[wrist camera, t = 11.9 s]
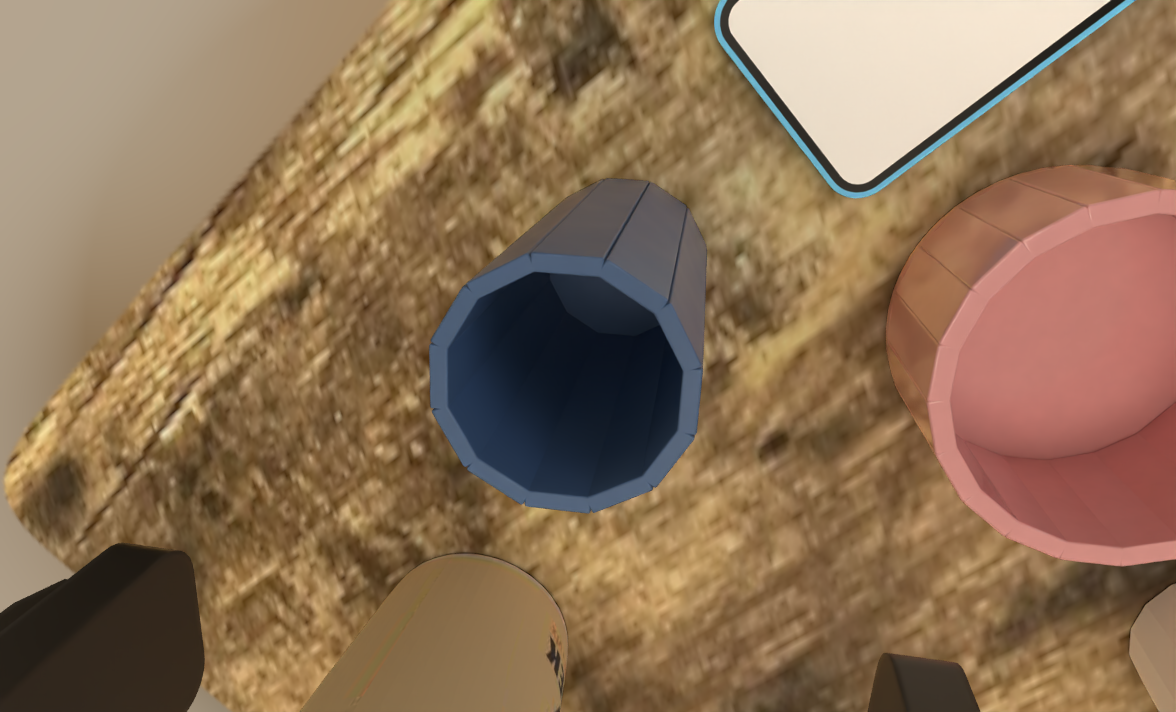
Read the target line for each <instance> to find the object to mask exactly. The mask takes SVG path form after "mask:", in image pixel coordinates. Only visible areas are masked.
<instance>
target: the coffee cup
mask: <svg viewBox="0 0 1176 712" xmlns="http://www.w3.org/2000/svg"><path fill="white" fill-rule="evenodd" d="M567 657H568V636H567V631H566V626H565V622H564V620H563V617H562V614H561V612H560V610H559V608H558V606H557V605H556V603H555V601H554V600H553V598H552V597H551V595H550V594H549V593H548V592H547V591H546V590H545V588H544V587H543V586H542V585H541V584H540V583H539V582H537V581H536V580H535V579H534V578H533V577H531V576H530V575H529V574H527V573H525V572H524V571H522V570H521V569H519V568H517V567H516V566H514V565H511V564H509V563H507V562H505V561H502V560H499V559H496V558H492V557H489V556H484V555H479V554H450V555H446V556H441V557H437V558H434V559H431V560H429V561H427V562H424V563H422V564H421V565H419V566H417V567H416V568H415V569H413V570H412V571H411V572H409V573H408V574H407V575H406V576H405V577H404V578H403V579H402V580H401V581H400V582H399V583H398V584H397V586H396V587H395V588H394V589H393V590H392V592H391V593H390V594H389V595H388V597H387V598H386V599H385V600H384V602H383V603H382V604H381V606H380V607H379V608H378V609H377V611H376V612H375V613H374V615H373V616H372V617H371V619H370V620H369V621H368V622H367V624H366V625H365V626H364V628H363V629H362V630H361V632H360V633H359V634H358V635H357V637H356V638H355V639H354V641H353V642H352V643H351V645H350V646H349V647H348V649H347V650H346V651H345V652H344V654H343V655H342V656H341V658H340V659H339V660H338V662H337V663H336V664H335V665H334V667H333V668H332V669H331V671H330V672H329V673H328V675H327V676H326V677H325V679H324V680H323V681H322V683H321V684H320V685H319V687H318V688H317V689H316V691H315V692H314V693H313V695H312V696H311V697H310V699H309V700H308V701H307V703H306V704H305V705H304V706H303V708H302V709H301V710H300V712H560V709H561V702H562V695H563V688H564V681H565V674H566V665H567Z"/></svg>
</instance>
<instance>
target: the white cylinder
mask: <svg viewBox="0 0 1176 712" xmlns="http://www.w3.org/2000/svg"><path fill="white" fill-rule="evenodd" d="M1129 656H1130V658H1131V660H1132V662H1133V664H1134V666H1135V668H1136V670H1137V672H1138V674H1139V676H1140V678H1141V680H1142V682H1143V684H1144V686H1145V687H1146V689H1147V691H1148V693H1149V695H1150V697H1151V698H1152V700H1153V702H1154V704H1155V706H1156V707H1157V709H1158V711H1159V712H1176V584H1173V585H1171V586H1169V587H1168V588H1167V589H1165V590H1164V591H1163V592H1161V593H1160V594H1159V595H1157V596H1156V597H1155V598H1154V599H1152V600H1151V601H1150V602H1148V603H1147V604H1146V605H1145V606H1144V608H1143V610H1142V611H1141V613H1140V615H1139V616H1138V618H1137V620H1136V621H1135V623H1134V625H1133V626H1132V628H1131V633H1130V647H1129Z"/></svg>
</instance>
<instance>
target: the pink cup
mask: <svg viewBox="0 0 1176 712" xmlns="http://www.w3.org/2000/svg"><path fill="white" fill-rule="evenodd" d="M886 351H887V356H888V362H889V367H890V371H891V374H892V376H893V380H894V384H895V387H896V389H897V391H898V392H899V394H900V396H901V398H902V399H903V401H904V403H905V404H906V406H907V408H908V410H909V411H910V413H911V415H912V417H913V418H914V420H915V422H916V423H917V425H918V427H919V429H920V430H921V432H922V434H923V436H924V437H925V439H926V441H927V442H928V444H929V446H930V448H931V449H932V451H933V453H934V455H935V456H936V458H937V460H938V461H939V463H940V465H941V467H942V468H943V470H944V472H945V474H946V475H947V477H948V479H949V480H950V482H951V484H952V486H953V487H954V489H955V491H956V493H957V494H958V496H959V498H960V499H961V500H962V501H963V503H964V504H965V505H967V506H968V507H969V508H970V509H971V510H973V511H974V512H975V513H976V514H977V515H979V516H980V517H981V518H982V519H983V520H985V521H986V522H987V523H988V524H989V525H990V526H992V527H993V528H994V529H995V530H996V531H998V532H999V533H1000V534H1001V535H1003V536H1005V537H1006V538H1008V539H1011V540H1013V541H1016V542H1018V543H1020V544H1023V545H1025V546H1028V547H1030V548H1033V549H1035V550H1038V551H1040V552H1042V553H1045V554H1047V555H1050V556H1052V557H1055V558H1059V559H1061V560H1069V561H1078V562H1087V563H1095V564H1104V565H1113V566H1129V565H1136V564H1143V563H1151V562H1158V561H1165V560H1173V559H1176V180H1172V179H1168V178H1164V177H1160V176H1155V175H1151V174H1147V173H1142V172H1138V171H1134V170H1130V169H1125V168H1112V167H1103V166H1096V165H1061V166H1053V167H1045V168H1040V169H1036V170H1032V171H1028V172H1024V173H1020V174H1017V175H1014V176H1012V177H1009V178H1006V179H1004V180H1001V181H998V182H996V183H994V184H992V185H990V186H988V187H986V188H984V189H982V190H980V191H978V192H976V193H975V194H973V195H972V196H970V197H969V198H967V199H966V200H964V201H963V202H961V203H960V204H958V205H957V206H955V207H954V208H953V209H952V210H951V211H950V212H948V213H947V214H946V215H945V216H944V217H942V218H941V219H940V220H939V221H938V222H937V223H936V224H935V225H934V226H933V227H932V228H931V229H930V231H929V232H928V233H927V234H926V235H925V236H924V237H923V238H922V240H921V241H920V242H919V244H918V245H917V247H916V248H915V249H914V251H913V252H912V253H911V255H910V256H909V258H908V260H907V262H906V264H905V266H904V267H903V269H902V271H901V273H900V275H899V278H898V280H897V283H896V285H895V288H894V290H893V293H892V297H891V301H890V305H889V309H888V314H887V324H886Z"/></svg>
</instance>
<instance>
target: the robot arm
mask: <svg viewBox="0 0 1176 712" xmlns="http://www.w3.org/2000/svg"><path fill="white" fill-rule="evenodd" d="M204 661H205V658H204V648H203V640H202V632H201V624H200V616H199V608H198V600H197V592H196V584H195V576H194V569H193V564H192V562H191V559H190V558H189V556H188V555H187V554H186V553H185V552H182V551H178V550H171V549H164V548H157V547H150V546H143V545H136V544H129V543H118V544H115V545H113V546H111V547H109V548H108V549H106V550H105V551H104V552H102V553H101V554H100V555H99V556H97V557H96V558H95V559H93V560H92V561H91V562H90V563H88V564H87V565H86V566H84V567H83V568H82V569H81V570H79V571H78V572H77V573H75V574H74V575H73V576H72V577H70V578H69V579H64V580H62V581H60V582H57V583H55V584H53V585H51V586H49V587H47V588H45V589H43V590H41V591H38V592H36V593H34V594H32V595H30V596H28V597H26V598H24V599H21V600H20V601H17V602H15V603H13V604H12V605H10V606H9V607H8V608H7V609H5V610H4V611H3V612H1V613H0V712H187V710H188V709H189V707H190V706H191V704H192V702H193V701H194V699H195V697H196V694H197V692H198V689H199V687H200V684H201V680H202V676H203V671H204ZM868 712H980V710H979V707H978V705H977V702H976V700H975V697H974V695H973V692H972V690H971V687H970V685H969V682H968V680H967V677H966V675H965V673H964V671H963V669H962V667H961V666H960V665H959V664H958V663H954V662H947V661H940V660H933V659H926V658H919V657H912V656H905V655H898V654H891V653H884V654H883V655H882V656H881V658H880V660H879V662H878V666H877V670H876V674H875V679H874V684H873V688H872V693H871V698H870V703H869V708H868Z"/></svg>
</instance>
